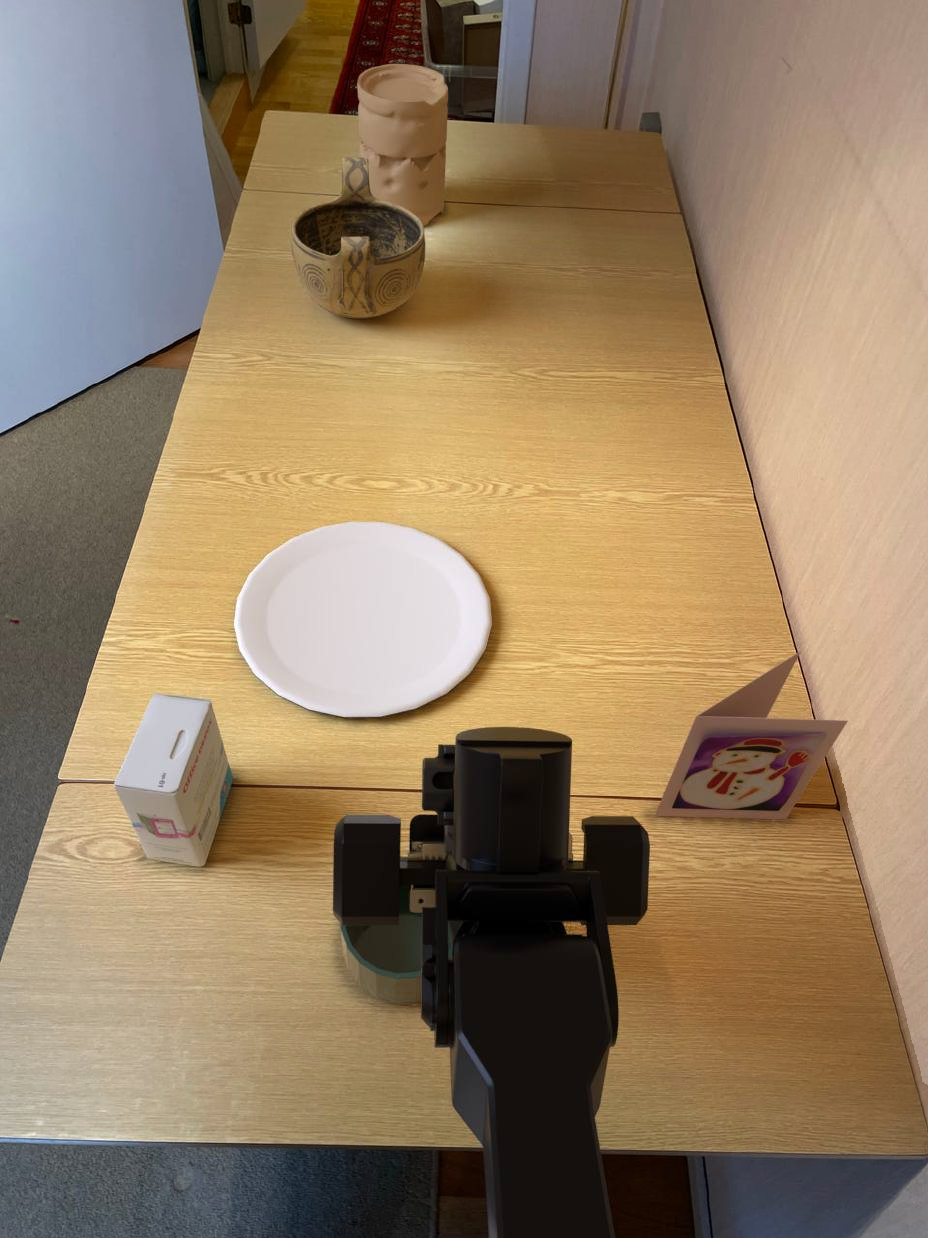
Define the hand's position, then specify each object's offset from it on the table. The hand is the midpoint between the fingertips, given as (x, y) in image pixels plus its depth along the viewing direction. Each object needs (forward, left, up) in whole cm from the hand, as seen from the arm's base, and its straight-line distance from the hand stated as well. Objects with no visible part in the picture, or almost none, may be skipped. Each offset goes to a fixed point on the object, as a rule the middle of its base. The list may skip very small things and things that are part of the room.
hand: (480, 829), depth 67 cm
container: (+112, -1, -14) cm, 112 cm away
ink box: (+10, +22, -14) cm, 28 cm away
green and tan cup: (-2, +5, -13) cm, 15 cm away
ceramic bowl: (+86, +6, -14) cm, 87 cm away
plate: (+31, +7, -14) cm, 34 cm away
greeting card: (+10, -23, -14) cm, 28 cm away
